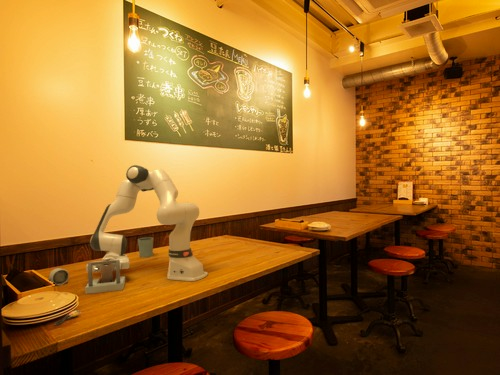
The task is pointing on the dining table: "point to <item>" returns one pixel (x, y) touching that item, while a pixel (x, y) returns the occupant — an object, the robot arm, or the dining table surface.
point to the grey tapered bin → (145, 247)
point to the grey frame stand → (97, 287)
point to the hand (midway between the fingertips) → (106, 269)
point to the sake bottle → (106, 271)
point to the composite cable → (68, 317)
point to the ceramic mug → (59, 276)
